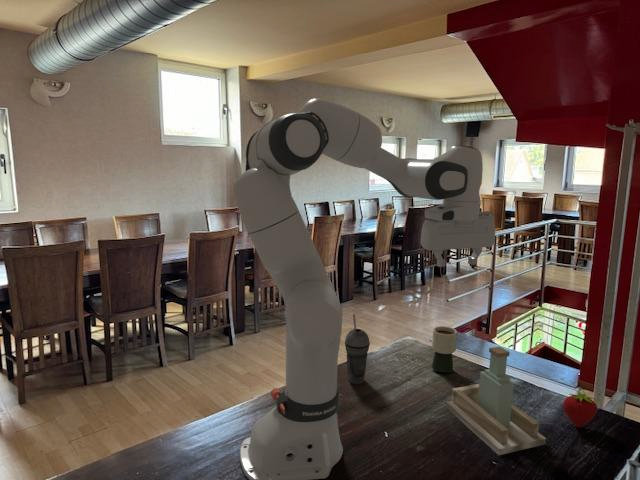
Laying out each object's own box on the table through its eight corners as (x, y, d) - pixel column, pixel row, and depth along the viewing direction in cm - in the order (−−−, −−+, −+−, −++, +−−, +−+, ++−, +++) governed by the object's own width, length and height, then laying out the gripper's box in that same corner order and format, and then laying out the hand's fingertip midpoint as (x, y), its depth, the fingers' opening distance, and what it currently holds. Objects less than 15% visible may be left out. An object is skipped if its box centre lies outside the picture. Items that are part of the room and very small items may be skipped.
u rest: (498, 455, 97) (500, 434, 96) (445, 407, 115) (447, 389, 114) (545, 444, 101) (547, 424, 100) (486, 399, 119) (488, 382, 119)
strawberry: (555, 419, 111) (560, 382, 109) (586, 420, 111) (591, 383, 109) (568, 433, 105) (573, 395, 103) (600, 434, 105) (605, 396, 103)
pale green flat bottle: (476, 412, 110) (482, 345, 107) (489, 409, 112) (496, 343, 108) (495, 428, 104) (502, 357, 101) (509, 425, 105) (516, 355, 102)
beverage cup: (367, 387, 124) (369, 320, 121) (341, 384, 126) (343, 318, 122) (369, 375, 132) (372, 311, 128) (345, 372, 133) (347, 309, 129)
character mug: (461, 377, 131) (465, 336, 129) (439, 379, 130) (442, 338, 127) (444, 361, 142) (447, 323, 139) (424, 363, 140) (426, 324, 138)
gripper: (486, 209, 117) (482, 260, 119) (419, 211, 111) (416, 264, 113) (503, 212, 111) (498, 265, 114) (433, 214, 105) (429, 270, 107)
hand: (456, 265), depth 113 cm, fingers open, 8 cm apart
